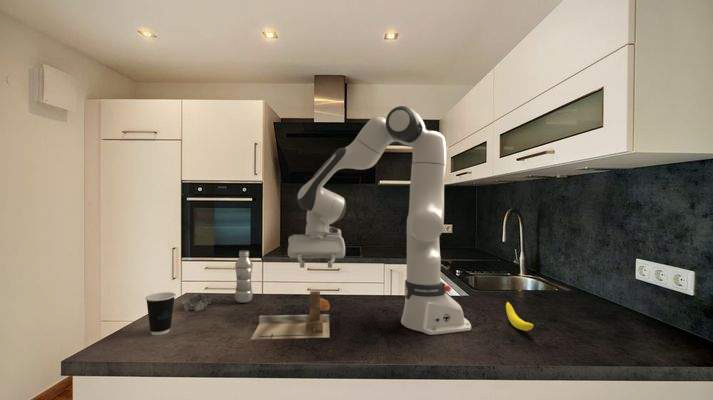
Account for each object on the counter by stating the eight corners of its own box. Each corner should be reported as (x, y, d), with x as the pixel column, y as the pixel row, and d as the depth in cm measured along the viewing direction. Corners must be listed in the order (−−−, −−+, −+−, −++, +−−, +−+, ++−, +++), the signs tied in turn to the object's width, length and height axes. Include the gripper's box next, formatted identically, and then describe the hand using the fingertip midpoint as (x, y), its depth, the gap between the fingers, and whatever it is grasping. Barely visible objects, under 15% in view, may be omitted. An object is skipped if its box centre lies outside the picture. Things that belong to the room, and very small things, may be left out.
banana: (527, 341, 99) (528, 319, 99) (502, 318, 118) (502, 300, 118) (537, 341, 98) (538, 320, 98) (510, 318, 117) (511, 300, 117)
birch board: (329, 325, 109) (329, 314, 109) (329, 342, 96) (329, 330, 96) (259, 326, 107) (259, 315, 107) (250, 344, 94) (251, 332, 94)
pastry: (333, 314, 119) (333, 304, 119) (314, 316, 117) (314, 306, 117) (327, 306, 128) (327, 296, 128) (309, 308, 126) (309, 298, 126)
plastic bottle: (247, 305, 127) (247, 252, 127) (231, 303, 128) (231, 252, 128) (255, 300, 133) (256, 250, 133) (240, 298, 135) (240, 249, 135)
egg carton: (200, 312, 120) (200, 300, 120) (179, 311, 120) (179, 300, 120) (214, 302, 131) (214, 292, 130) (195, 301, 131) (195, 291, 131)
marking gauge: (322, 324, 105) (323, 289, 105) (322, 334, 98) (323, 296, 98) (306, 324, 105) (307, 289, 105) (305, 334, 97) (306, 296, 97)
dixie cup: (155, 326, 105) (155, 291, 105) (180, 327, 105) (180, 292, 105) (138, 337, 97) (139, 299, 97) (165, 337, 97) (166, 300, 97)
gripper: (288, 229, 120) (284, 261, 111) (344, 229, 122) (346, 261, 113) (289, 239, 125) (285, 271, 115) (344, 240, 127) (344, 271, 117)
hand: (316, 266), depth 114 cm, fingers open, 8 cm apart
